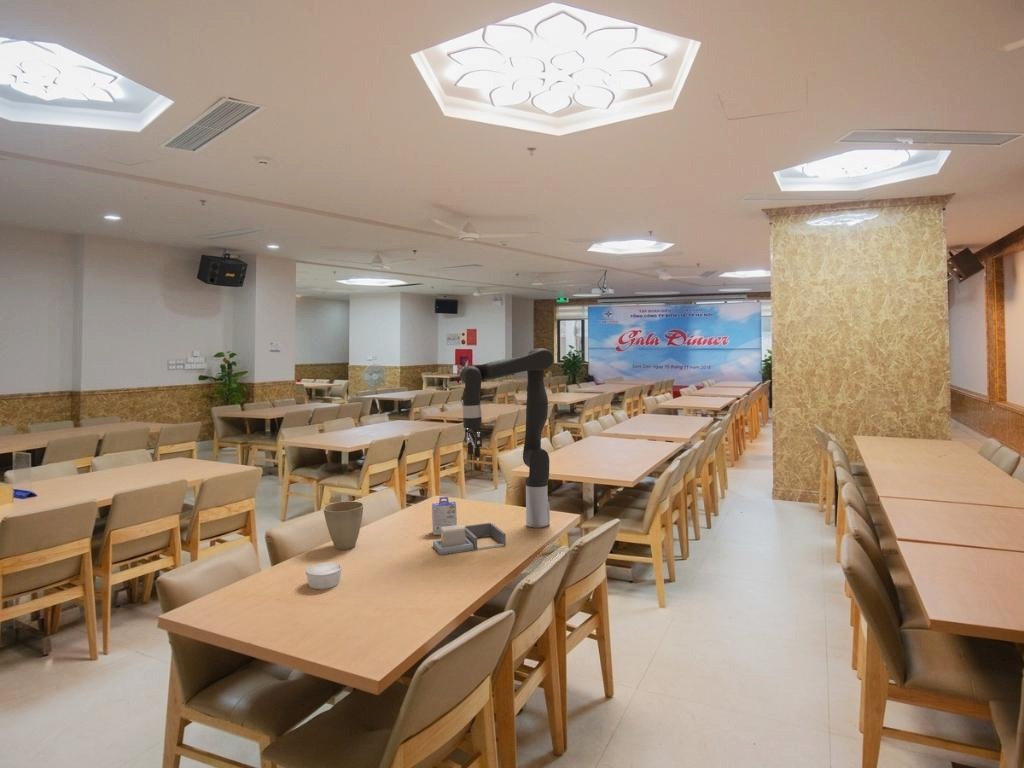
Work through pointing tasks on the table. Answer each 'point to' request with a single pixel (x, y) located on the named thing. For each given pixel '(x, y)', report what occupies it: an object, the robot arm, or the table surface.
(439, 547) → the tray
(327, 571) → the ramekin
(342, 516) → the plant pot
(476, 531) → the frame
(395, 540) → the table surface
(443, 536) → the tall cream box
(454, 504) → the ink cartridge box
